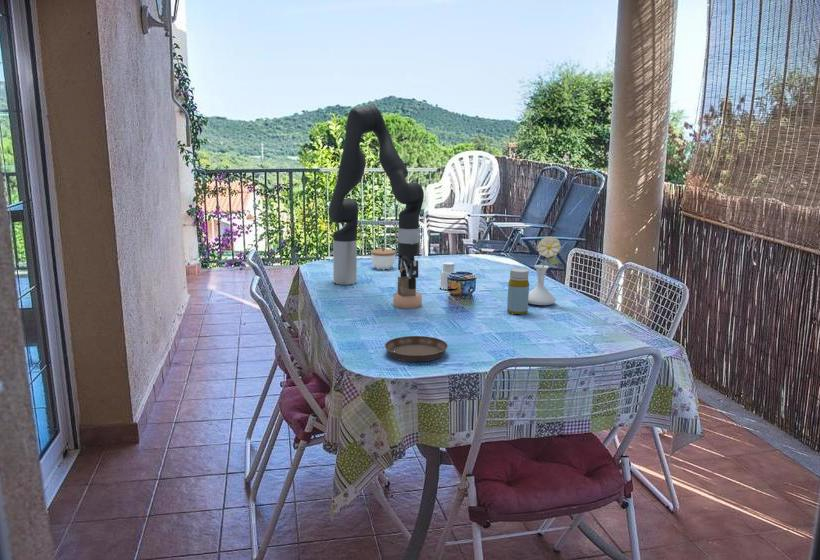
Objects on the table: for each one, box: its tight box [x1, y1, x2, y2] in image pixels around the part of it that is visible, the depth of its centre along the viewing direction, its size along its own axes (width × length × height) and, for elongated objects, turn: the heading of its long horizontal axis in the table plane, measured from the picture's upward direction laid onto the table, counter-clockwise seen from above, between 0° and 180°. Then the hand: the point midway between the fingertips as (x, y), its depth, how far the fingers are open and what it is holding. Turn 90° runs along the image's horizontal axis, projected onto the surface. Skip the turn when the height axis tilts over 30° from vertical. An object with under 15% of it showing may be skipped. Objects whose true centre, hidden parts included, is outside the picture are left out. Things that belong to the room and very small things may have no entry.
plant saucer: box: [384, 335, 449, 362], centre depth 208 cm, size 18×18×3 cm
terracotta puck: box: [392, 291, 423, 310], centre depth 260 cm, size 10×10×4 cm
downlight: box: [440, 262, 457, 290], centre depth 286 cm, size 8×7×10 cm
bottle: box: [506, 267, 530, 315], centre depth 252 cm, size 7×7×15 cm
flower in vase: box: [528, 235, 562, 306], centre depth 263 cm, size 13×11×25 cm
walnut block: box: [397, 275, 417, 297], centre depth 259 cm, size 5×5×6 cm
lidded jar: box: [370, 246, 397, 270], centre depth 320 cm, size 11×11×9 cm
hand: (407, 286), depth 259 cm, fingers open, 8 cm apart
